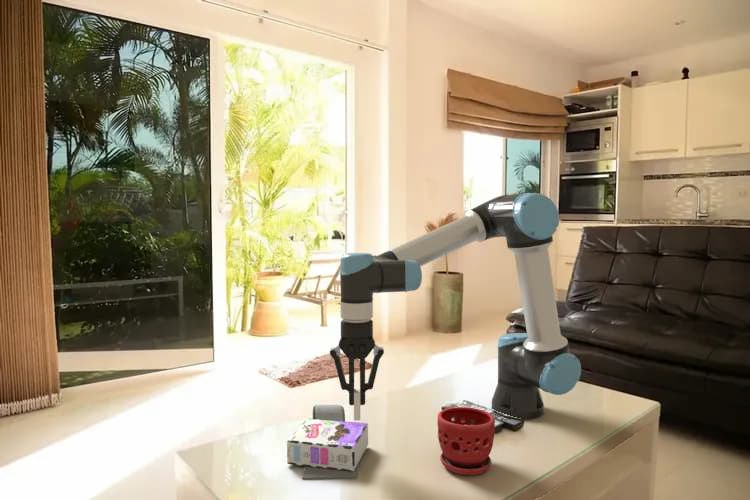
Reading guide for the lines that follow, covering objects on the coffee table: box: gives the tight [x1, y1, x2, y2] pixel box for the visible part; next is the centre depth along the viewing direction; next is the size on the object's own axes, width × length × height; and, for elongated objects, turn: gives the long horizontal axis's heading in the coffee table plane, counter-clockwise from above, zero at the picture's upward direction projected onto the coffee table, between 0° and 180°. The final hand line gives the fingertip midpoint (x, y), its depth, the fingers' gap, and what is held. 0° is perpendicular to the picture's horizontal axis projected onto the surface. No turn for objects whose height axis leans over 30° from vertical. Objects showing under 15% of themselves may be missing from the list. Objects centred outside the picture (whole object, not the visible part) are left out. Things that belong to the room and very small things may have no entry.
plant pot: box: [437, 406, 496, 476], centre depth 117 cm, size 13×13×12 cm
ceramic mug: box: [312, 404, 346, 422], centre depth 137 cm, size 11×8×8 cm
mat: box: [301, 466, 358, 480], centre depth 119 cm, size 12×16×1 cm
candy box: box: [286, 418, 369, 471], centre depth 121 cm, size 14×6×16 cm
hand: (357, 417), depth 119 cm, fingers closed
